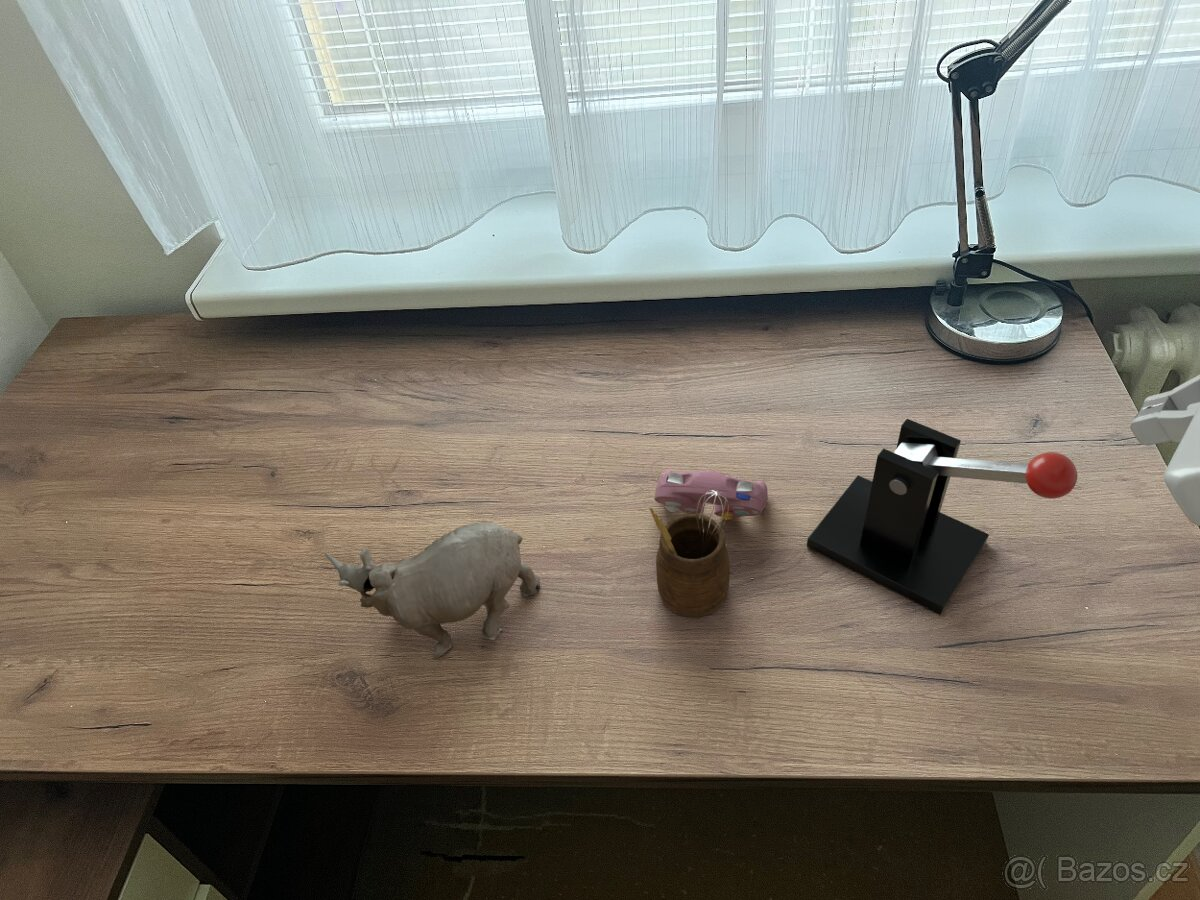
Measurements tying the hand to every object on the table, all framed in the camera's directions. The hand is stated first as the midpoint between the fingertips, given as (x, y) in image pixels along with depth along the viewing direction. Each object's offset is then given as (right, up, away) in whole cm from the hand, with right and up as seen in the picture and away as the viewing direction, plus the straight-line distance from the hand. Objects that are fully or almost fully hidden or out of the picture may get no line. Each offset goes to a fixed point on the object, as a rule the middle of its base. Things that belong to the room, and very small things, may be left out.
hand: (1141, 422), depth 54 cm
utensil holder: (-26, -14, +19) cm, 35 cm away
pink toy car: (-23, -7, +25) cm, 35 cm away
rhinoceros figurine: (-46, -16, +20) cm, 53 cm away
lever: (-5, -4, +11) cm, 13 cm away
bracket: (-8, -10, +21) cm, 24 cm away
